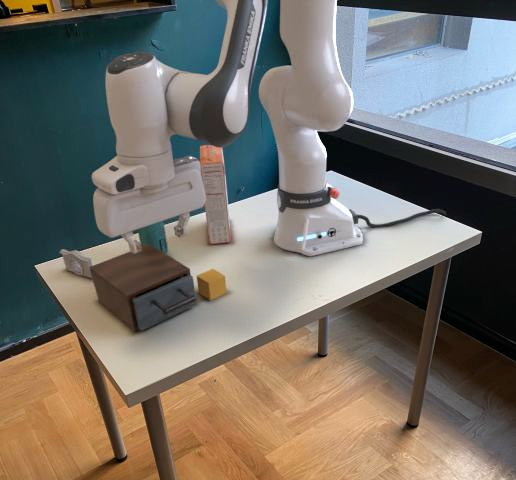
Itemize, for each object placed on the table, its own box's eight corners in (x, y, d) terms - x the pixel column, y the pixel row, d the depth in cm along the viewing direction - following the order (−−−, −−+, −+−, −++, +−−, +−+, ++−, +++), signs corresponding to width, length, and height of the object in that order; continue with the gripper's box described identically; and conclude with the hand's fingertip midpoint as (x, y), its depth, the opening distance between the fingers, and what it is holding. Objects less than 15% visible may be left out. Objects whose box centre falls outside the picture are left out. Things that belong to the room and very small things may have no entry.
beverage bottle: (164, 265, 123) (150, 183, 111) (138, 263, 125) (122, 182, 112) (173, 252, 128) (161, 173, 116) (148, 251, 130) (133, 172, 117)
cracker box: (207, 222, 142) (199, 144, 129) (229, 220, 142) (223, 143, 129) (207, 245, 131) (198, 162, 118) (231, 243, 131) (224, 161, 118)
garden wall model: (105, 279, 119) (100, 256, 115) (100, 283, 118) (94, 260, 114) (70, 267, 124) (63, 245, 121) (64, 270, 123) (57, 248, 120)
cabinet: (194, 303, 109) (189, 268, 104) (135, 332, 102) (126, 295, 97) (155, 277, 119) (149, 243, 114) (98, 301, 112) (89, 267, 106)
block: (226, 293, 112) (225, 275, 110) (210, 300, 110) (208, 283, 107) (214, 285, 115) (212, 268, 112) (198, 292, 113) (196, 275, 110)
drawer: (212, 315, 104) (209, 286, 100) (156, 343, 97) (150, 313, 93) (159, 279, 116) (154, 252, 112) (106, 302, 110) (99, 274, 105)
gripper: (188, 149, 92) (196, 221, 100) (81, 177, 81) (100, 255, 90) (209, 157, 88) (215, 231, 96) (99, 187, 78) (117, 268, 86)
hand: (159, 243), depth 93 cm, fingers open, 8 cm apart
